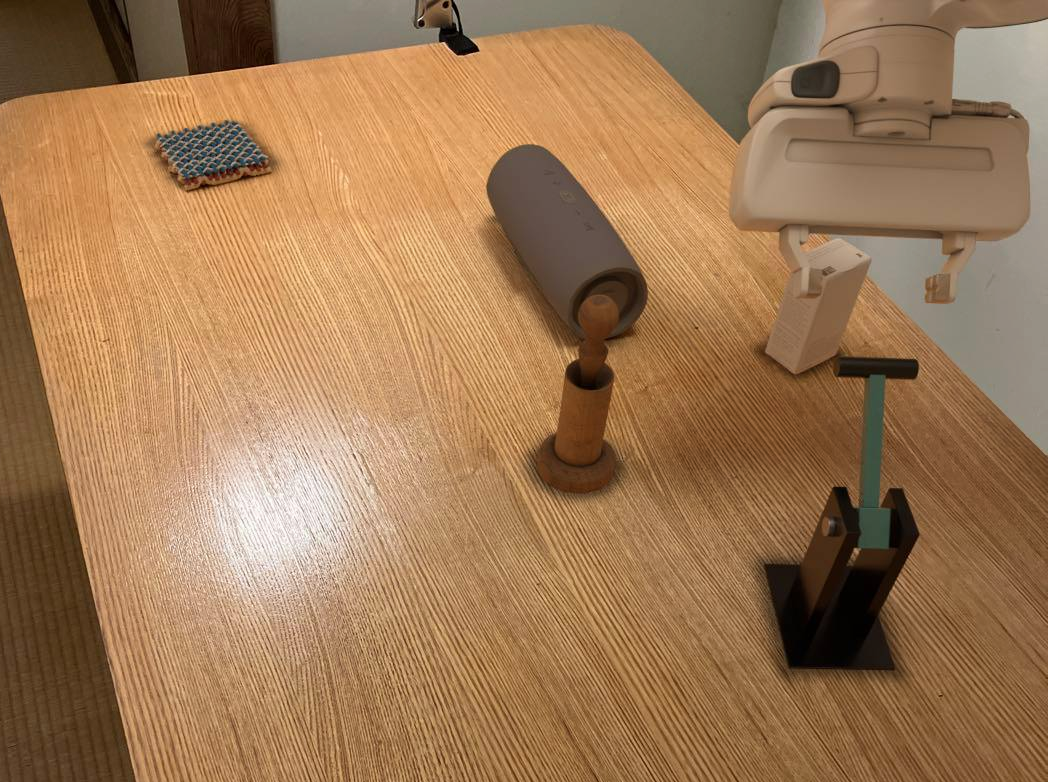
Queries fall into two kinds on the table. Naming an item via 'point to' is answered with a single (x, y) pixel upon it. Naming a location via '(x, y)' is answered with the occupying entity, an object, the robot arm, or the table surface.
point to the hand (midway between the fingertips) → (873, 300)
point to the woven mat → (212, 155)
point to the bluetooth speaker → (563, 237)
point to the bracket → (841, 589)
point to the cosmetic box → (818, 308)
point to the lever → (873, 439)
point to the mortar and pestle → (584, 409)
